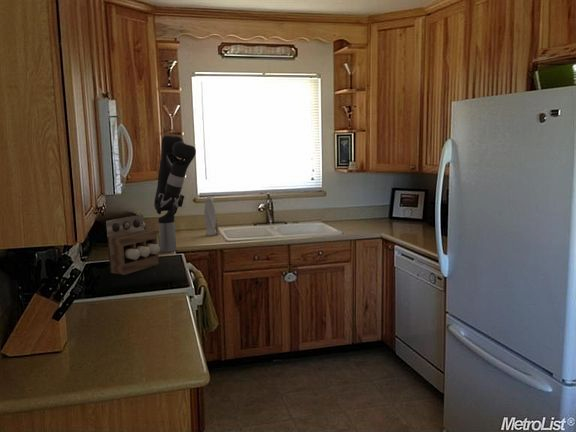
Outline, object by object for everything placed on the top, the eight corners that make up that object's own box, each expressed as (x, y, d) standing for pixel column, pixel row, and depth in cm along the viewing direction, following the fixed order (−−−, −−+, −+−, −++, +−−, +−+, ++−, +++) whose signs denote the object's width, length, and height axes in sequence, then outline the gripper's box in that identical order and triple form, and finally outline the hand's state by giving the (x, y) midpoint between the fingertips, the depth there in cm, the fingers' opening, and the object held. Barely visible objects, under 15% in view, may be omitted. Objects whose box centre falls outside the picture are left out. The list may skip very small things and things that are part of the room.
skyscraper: (208, 236, 339) (205, 195, 335) (203, 235, 346) (201, 194, 342) (219, 235, 344) (217, 194, 340) (214, 233, 350) (212, 194, 346)
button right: (143, 253, 255) (142, 244, 254) (150, 251, 259) (149, 242, 258) (152, 255, 251) (152, 245, 251) (160, 253, 256) (159, 243, 255)
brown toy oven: (110, 272, 247) (105, 220, 243) (145, 262, 266) (141, 214, 262) (123, 274, 241) (119, 221, 238) (158, 264, 261) (155, 215, 257)
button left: (122, 259, 244) (121, 249, 243) (130, 257, 248) (129, 247, 247) (132, 260, 240) (131, 250, 240) (140, 258, 244) (139, 248, 244)
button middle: (132, 256, 249) (132, 246, 249) (140, 254, 254) (139, 244, 253) (142, 257, 246) (142, 247, 245) (150, 255, 250) (149, 245, 249)
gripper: (182, 181, 248) (173, 210, 252) (158, 179, 237) (149, 210, 241) (191, 187, 243) (182, 217, 247) (166, 185, 232) (157, 216, 237)
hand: (166, 213), depth 244 cm, fingers open, 8 cm apart
